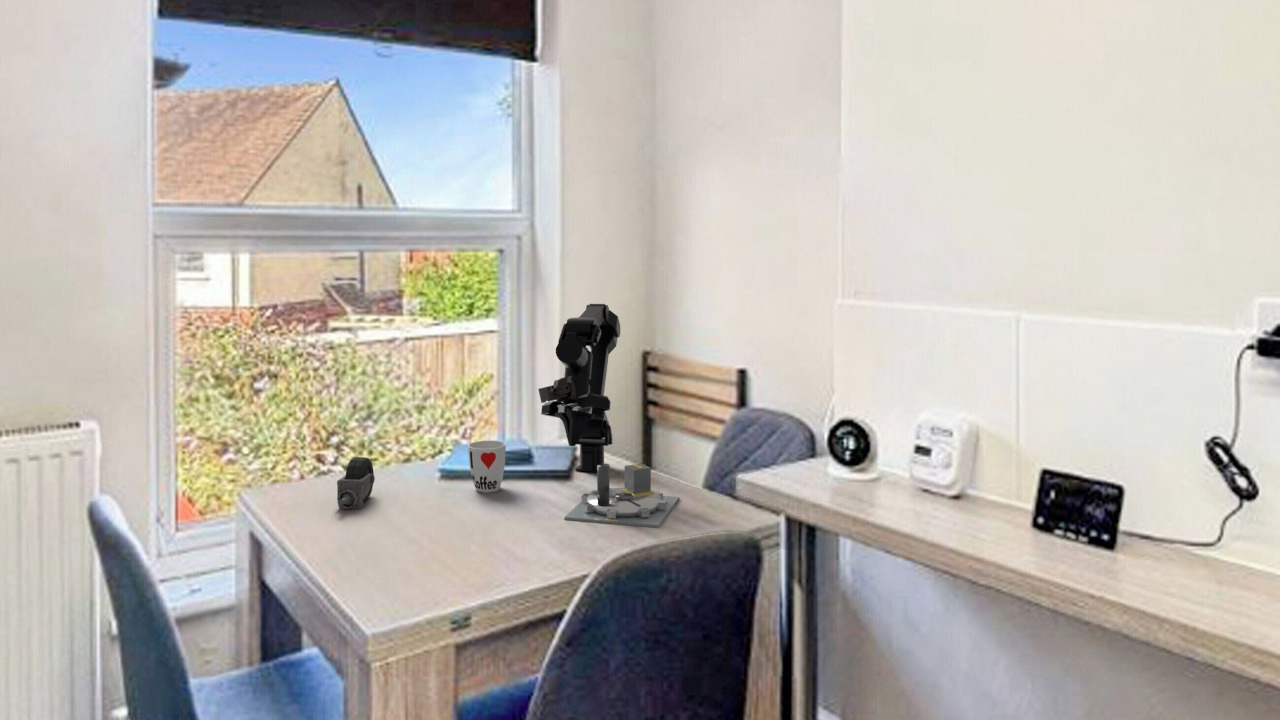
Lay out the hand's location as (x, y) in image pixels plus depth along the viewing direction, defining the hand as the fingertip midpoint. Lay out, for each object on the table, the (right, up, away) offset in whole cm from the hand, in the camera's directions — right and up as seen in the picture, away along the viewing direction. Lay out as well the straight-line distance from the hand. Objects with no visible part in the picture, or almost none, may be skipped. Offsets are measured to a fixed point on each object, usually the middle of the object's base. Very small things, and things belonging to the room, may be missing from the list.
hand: (571, 446), depth 193 cm
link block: (+14, -9, -4) cm, 17 cm away
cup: (-19, -10, +5) cm, 22 cm away
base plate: (+11, -12, -9) cm, 19 cm away
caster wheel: (-44, -12, -6) cm, 46 cm away
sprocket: (+11, -12, -9) cm, 19 cm away
